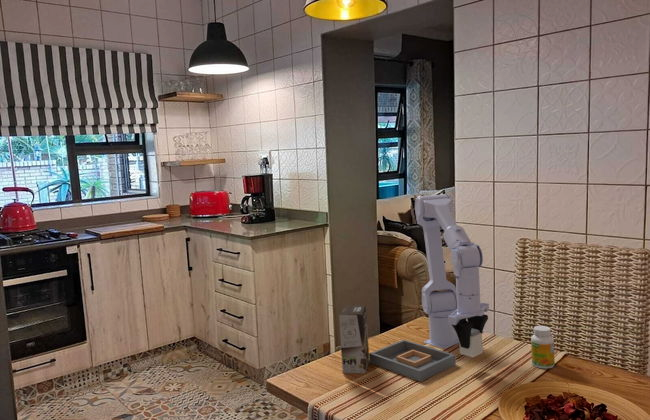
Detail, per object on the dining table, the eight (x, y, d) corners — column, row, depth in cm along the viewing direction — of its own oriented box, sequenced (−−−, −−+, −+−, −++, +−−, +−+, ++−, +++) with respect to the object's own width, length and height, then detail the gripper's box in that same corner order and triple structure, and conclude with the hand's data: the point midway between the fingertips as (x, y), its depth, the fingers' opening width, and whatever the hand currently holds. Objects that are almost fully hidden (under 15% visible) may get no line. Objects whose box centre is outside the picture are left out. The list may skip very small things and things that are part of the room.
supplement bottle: (528, 366, 131) (527, 329, 130) (536, 359, 134) (535, 323, 134) (550, 370, 127) (549, 333, 126) (557, 363, 131) (556, 326, 130)
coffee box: (366, 374, 132) (362, 314, 131) (342, 374, 134) (337, 314, 132) (370, 361, 141) (366, 304, 140) (347, 360, 143) (343, 304, 141)
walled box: (404, 349, 148) (404, 339, 148) (455, 365, 134) (455, 354, 134) (369, 363, 139) (369, 353, 139) (420, 383, 125) (419, 371, 125)
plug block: (469, 349, 132) (468, 326, 132) (482, 352, 129) (481, 330, 129) (459, 353, 130) (458, 330, 129) (473, 357, 127) (472, 334, 126)
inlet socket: (412, 353, 143) (412, 349, 143) (431, 359, 138) (431, 355, 138) (396, 360, 139) (396, 356, 139) (415, 367, 134) (414, 362, 134)
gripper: (463, 302, 121) (466, 357, 122) (498, 289, 129) (500, 340, 131) (440, 297, 126) (442, 350, 127) (474, 285, 135) (477, 334, 136)
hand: (470, 345), depth 129 cm, fingers closed on plug block, 4 cm apart
